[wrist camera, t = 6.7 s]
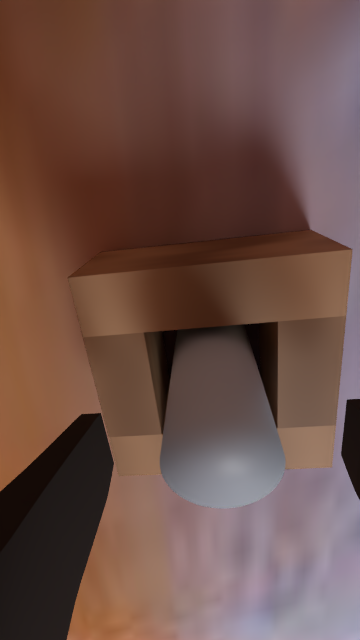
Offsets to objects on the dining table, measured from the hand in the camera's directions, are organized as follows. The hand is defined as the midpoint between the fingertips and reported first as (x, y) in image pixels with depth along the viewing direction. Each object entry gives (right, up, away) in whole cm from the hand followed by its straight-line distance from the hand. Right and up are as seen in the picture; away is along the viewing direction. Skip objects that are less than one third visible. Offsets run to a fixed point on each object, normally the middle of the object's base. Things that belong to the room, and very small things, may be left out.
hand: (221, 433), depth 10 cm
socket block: (0, +3, +6) cm, 7 cm away
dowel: (0, +3, +6) cm, 7 cm away
